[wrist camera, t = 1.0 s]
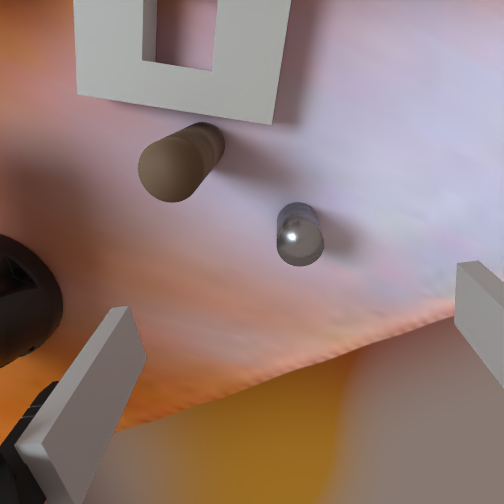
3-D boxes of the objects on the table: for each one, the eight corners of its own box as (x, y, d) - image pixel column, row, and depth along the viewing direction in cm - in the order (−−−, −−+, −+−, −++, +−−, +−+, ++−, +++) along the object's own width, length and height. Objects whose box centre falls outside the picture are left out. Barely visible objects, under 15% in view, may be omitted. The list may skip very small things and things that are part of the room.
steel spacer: (274, 237, 39) (273, 262, 33) (280, 199, 37) (281, 219, 32) (313, 243, 39) (318, 269, 33) (321, 205, 37) (328, 227, 31)
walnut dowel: (180, 162, 36) (137, 197, 25) (183, 118, 35) (138, 135, 24) (222, 169, 36) (196, 206, 25) (227, 125, 35) (202, 145, 24)
